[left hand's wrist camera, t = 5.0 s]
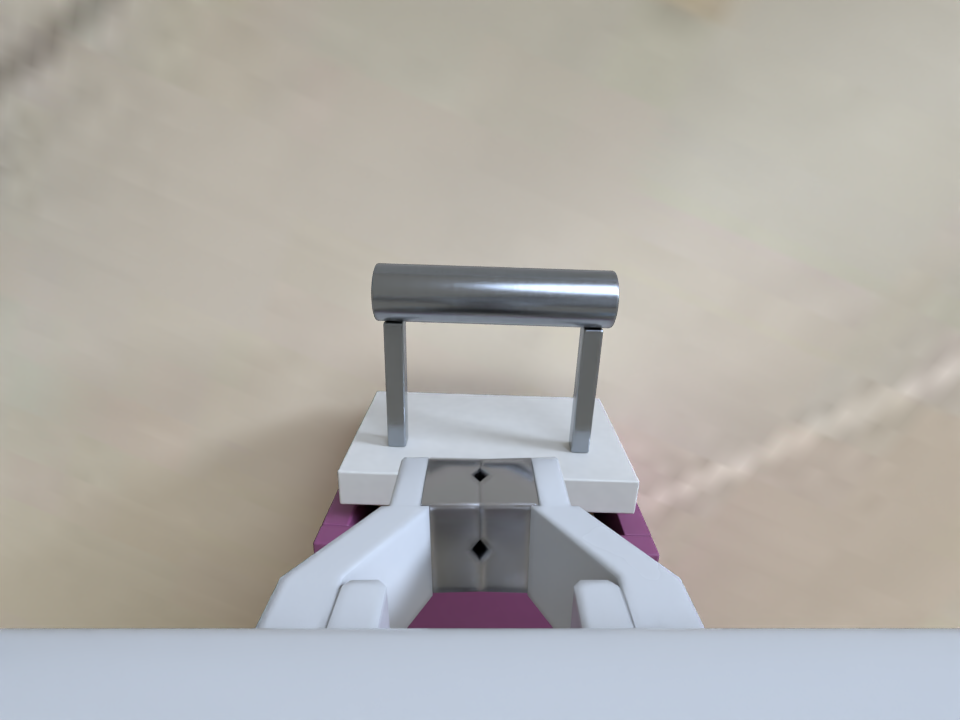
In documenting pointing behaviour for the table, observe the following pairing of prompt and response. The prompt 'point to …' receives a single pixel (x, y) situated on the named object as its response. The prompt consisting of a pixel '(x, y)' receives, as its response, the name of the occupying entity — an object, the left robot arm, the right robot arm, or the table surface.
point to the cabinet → (481, 605)
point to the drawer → (492, 418)
